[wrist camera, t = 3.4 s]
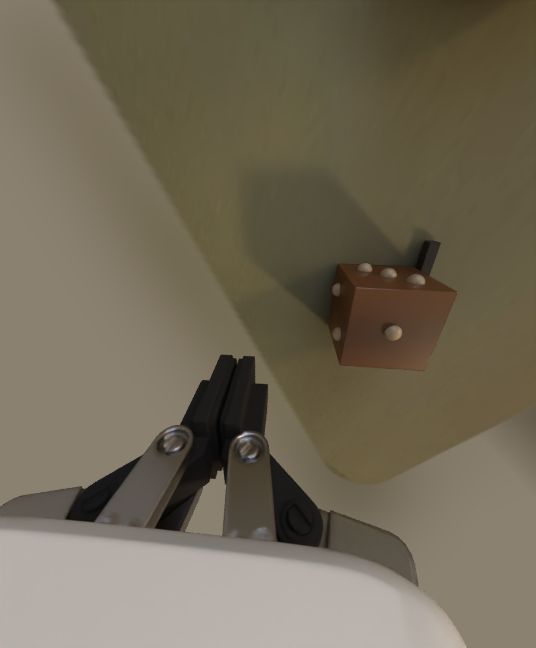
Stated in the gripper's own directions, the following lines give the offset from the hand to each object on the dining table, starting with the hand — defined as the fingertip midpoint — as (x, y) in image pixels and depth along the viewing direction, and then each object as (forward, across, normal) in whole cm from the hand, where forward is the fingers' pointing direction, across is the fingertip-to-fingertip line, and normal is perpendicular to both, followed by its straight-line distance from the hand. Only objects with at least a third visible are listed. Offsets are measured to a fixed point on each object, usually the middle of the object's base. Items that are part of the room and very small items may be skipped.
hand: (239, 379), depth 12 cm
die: (+11, -9, 0) cm, 14 cm away
